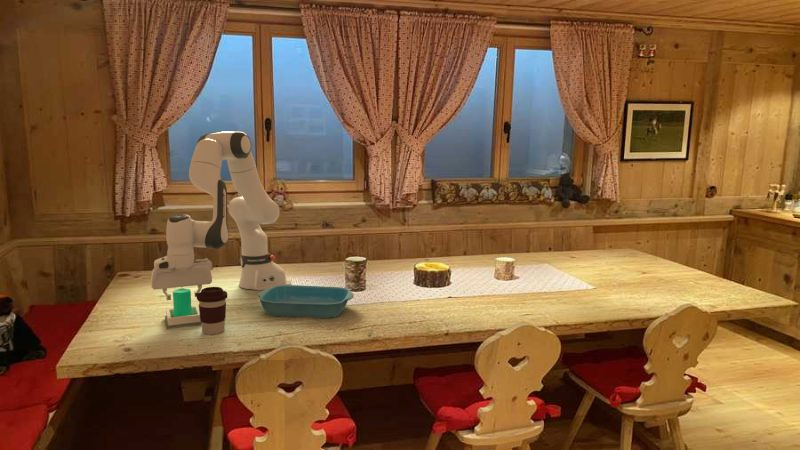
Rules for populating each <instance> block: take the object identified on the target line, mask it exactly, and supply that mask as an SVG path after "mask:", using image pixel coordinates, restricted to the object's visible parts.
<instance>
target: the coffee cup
mask: <svg viewBox="0 0 800 450" xmlns="http://www.w3.org/2000/svg"><path fill="white" fill-rule="evenodd" d="M226 299H228V292H227V291H226V290H224V289H223V288H222V287H220V286H208V287H204V288H202V289H201V291H200V292H199V293H198V294H197V297H196V300H197V301H198V307H199V313H200V321H201V324H200V325H201V331H202V334H204V335H219V334H221V333H223V332H224V331H225V324H226V323H225V322H226V316H227V300H226Z"/></svg>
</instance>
